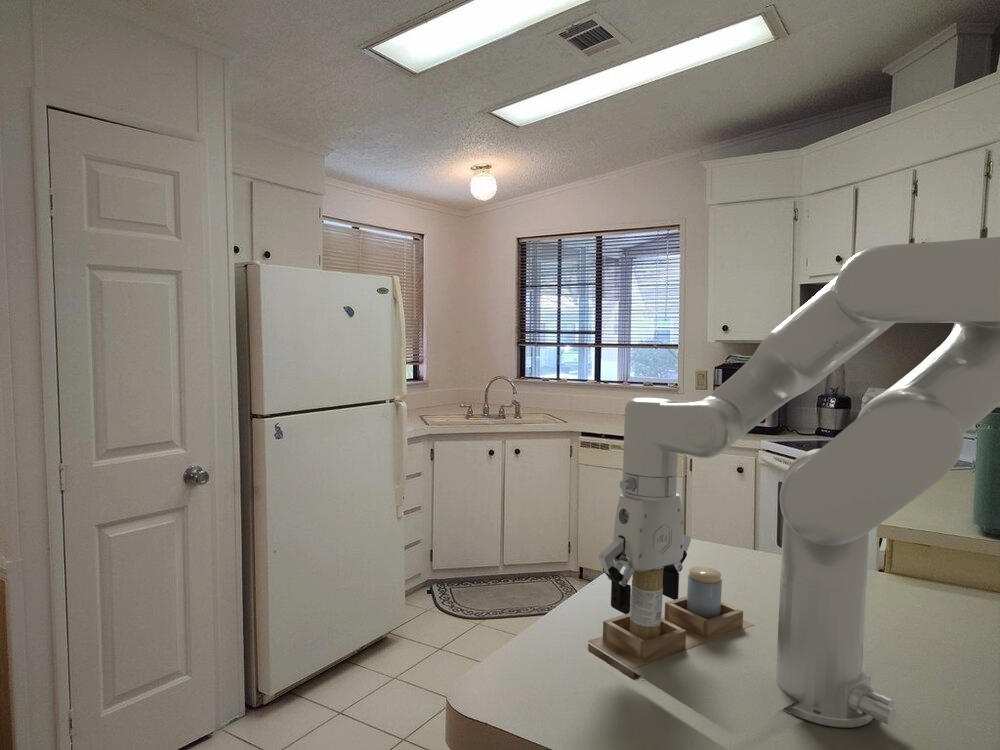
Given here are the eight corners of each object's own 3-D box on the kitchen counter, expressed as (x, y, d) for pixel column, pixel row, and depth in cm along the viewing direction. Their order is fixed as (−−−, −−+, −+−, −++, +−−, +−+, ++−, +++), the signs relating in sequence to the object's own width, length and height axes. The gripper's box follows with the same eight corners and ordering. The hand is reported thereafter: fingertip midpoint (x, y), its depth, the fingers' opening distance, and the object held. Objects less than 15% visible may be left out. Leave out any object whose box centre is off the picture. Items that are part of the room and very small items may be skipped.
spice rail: (754, 634, 95) (755, 608, 94) (633, 679, 80) (634, 650, 80) (706, 612, 102) (707, 588, 102) (588, 650, 88) (588, 623, 88)
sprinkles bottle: (641, 632, 91) (645, 543, 90) (667, 644, 87) (672, 552, 87) (621, 640, 88) (625, 549, 87) (647, 653, 84) (652, 558, 84)
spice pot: (727, 625, 94) (729, 574, 94) (705, 632, 91) (707, 580, 91) (700, 613, 98) (702, 564, 98) (679, 620, 95) (681, 569, 95)
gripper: (623, 497, 79) (619, 627, 80) (710, 484, 88) (706, 600, 89) (585, 485, 85) (581, 606, 86) (670, 474, 95) (666, 583, 95)
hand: (645, 603), depth 87 cm, fingers open, 9 cm apart
